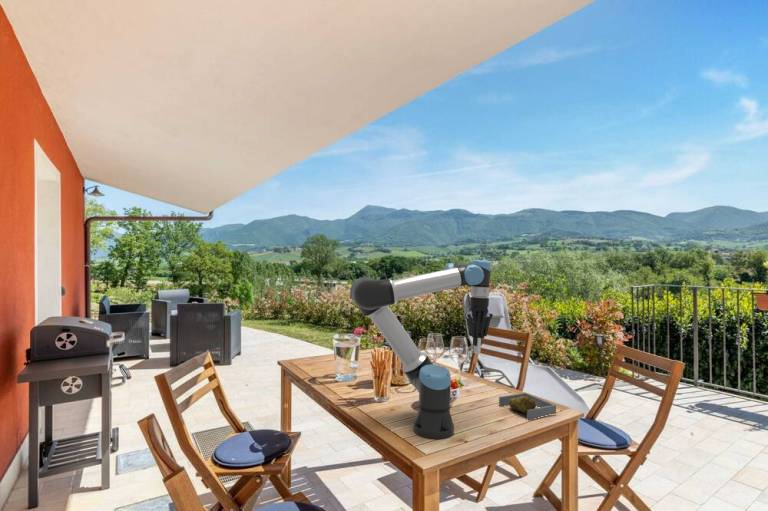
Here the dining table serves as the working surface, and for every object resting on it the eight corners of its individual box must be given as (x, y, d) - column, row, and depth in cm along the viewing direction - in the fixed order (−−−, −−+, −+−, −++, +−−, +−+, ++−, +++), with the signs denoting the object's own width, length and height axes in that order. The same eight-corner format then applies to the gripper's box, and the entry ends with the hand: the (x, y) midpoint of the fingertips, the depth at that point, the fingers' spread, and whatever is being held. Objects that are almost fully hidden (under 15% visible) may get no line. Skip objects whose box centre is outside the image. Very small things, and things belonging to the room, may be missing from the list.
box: (528, 420, 173) (528, 410, 173) (498, 405, 189) (499, 396, 189) (555, 414, 180) (556, 405, 180) (525, 401, 196) (525, 392, 196)
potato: (525, 407, 188) (525, 389, 188) (538, 418, 175) (538, 399, 175) (506, 407, 187) (507, 389, 187) (518, 419, 174) (519, 399, 174)
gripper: (472, 297, 172) (469, 356, 172) (498, 298, 177) (495, 354, 177) (461, 295, 178) (458, 352, 178) (486, 296, 184) (483, 350, 184)
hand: (476, 353), depth 178 cm, fingers closed
